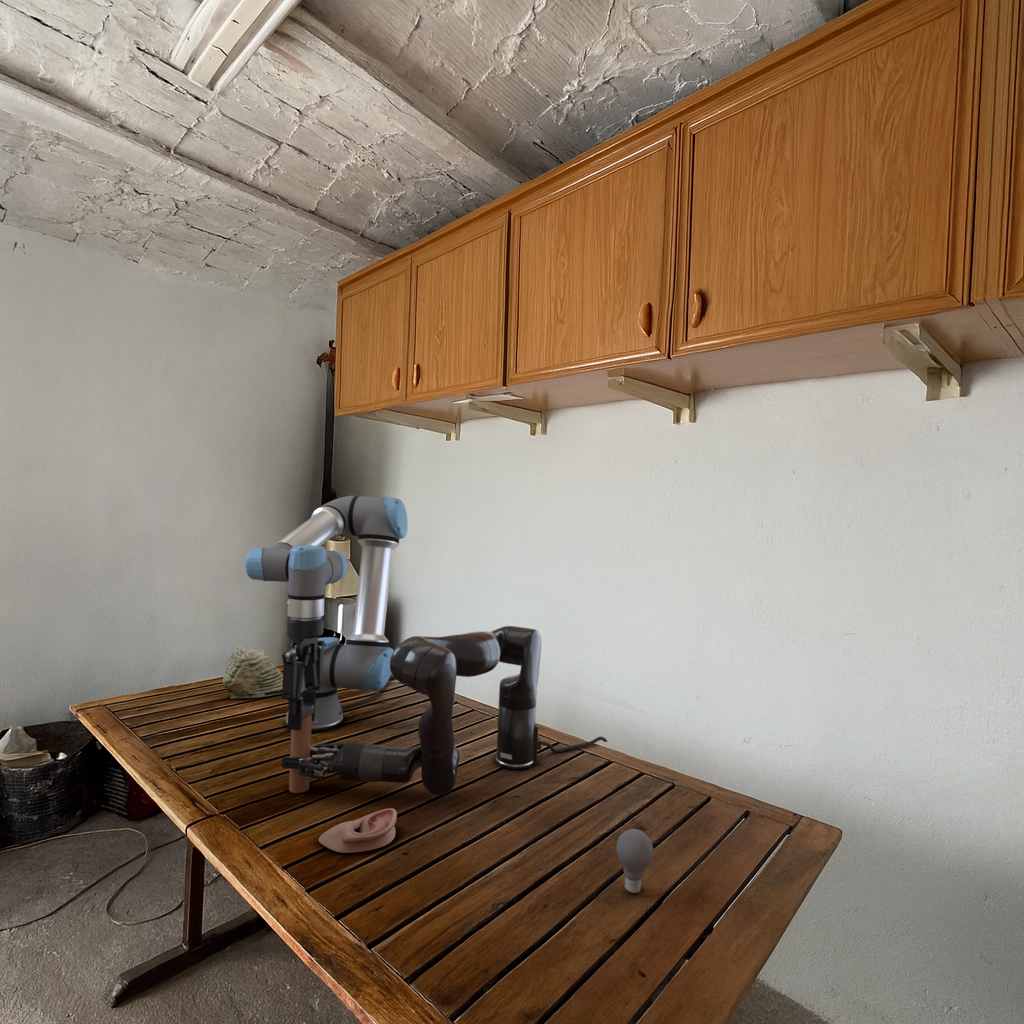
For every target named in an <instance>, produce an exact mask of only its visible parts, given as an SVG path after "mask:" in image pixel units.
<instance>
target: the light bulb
mask: <svg viewBox="0 0 1024 1024" xmlns="http://www.w3.org/2000/svg"><path fill="white" fill-rule="evenodd" d="M615 849H616V854H617V857H618V859H619V861H620V863H621V865H622V867H623V873H624V874H623V875H624V876H625V878H624V888H625V890H627V891H628V892H630V893H634V894H635V893H639V892H640V891H641V889H642V887H641V886H642V879H643V877H644V875H645V871H646V868H647V867H648V866H649V864H650V863H651V861H652V859H653V855H654V847H653V843H652V841H651V838H649V836H648V835H647V834H646V833H645V832H643V831H642V830H641V829H636V828H629V829H627V830H625V831H623V832H622V833H621V834H620V835H619V837H618V839H617V841H616V847H615Z"/></svg>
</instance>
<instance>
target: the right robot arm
mask: <svg viewBox="0 0 1024 1024" xmlns="http://www.w3.org/2000/svg"><path fill="white" fill-rule="evenodd" d="M393 651H394V652H393V654H392V656H391V659H390V670H391V676H394V677H395V678H394V679H395V680H397V681H398V682H399V683H400V684H401V685H404V686H405V687H408V688H409V689H412V690H414V691H416V692H418V693H419V694H422V695H425V696H426V697H428V700H429V702H430V705H429V706H428V707H427V708H426V709H425V710H424V711H423V713H422V714H421V716H420V718H419V721H418V725H417V734H418V739H419V744H418V745H413V746H410V747H397V746H385V745H381V744H368V743H353V742H348V743H345V745H344V742H343V743H342V742H335V743H318V744H317V743H316V744H315V746H311V757H308V758H300V757H290V756H284V757H283V758H282V760H281V768H283V769H289V770H290V769H299V775H302V776H306V777H310V779H315V780H324V779H325V775H326V774H333V773H334V774H335V773H336V774H338V775H339V778H340V780H342V781H345V782H346V781H347V782H362V783H397V784H407V783H409V782H410V781H411V780H412V779H413V777H414V775H415V773H416V771H417V770H418V769H419V768H421V769H420V771H421V773H420V775H421V781H422V782H421V783H422V785H423V787H424V788H425V789H426V791H427V792H429V793H430V794H432V795H434V796H444V795H447V794H449V793H450V792H451V791H452V790H453V789H454V787H455V785H456V781H457V775H458V769H459V764H460V763H459V762H460V752H459V749H458V748H457V747H456V746H455V734H454V725H453V712H454V704H455V695H456V686H457V685H456V684H457V677H463V678H470V677H471V678H472V677H477V676H481V675H485V674H487V673H489V672H492V671H493V670H494V669H495V668H496V667H497V666H498V664H499V663H502V664H506V665H507V664H508V665H514V666H520V671H519V673H518V674H514V675H509V676H506V677H504V678H501V680H500V682H499V690H498V711H497V712H498V713H497V731H496V735H497V736H496V752H495V753H496V754H495V763H496V764H497V765H498V766H500V767H502V768H504V769H509V770H510V769H511V770H524V769H529V768H531V767H532V766H534V765H535V766H536V765H537V763H538V751H541V750H542V746H546V747H548V748H549V749H550V751H551V752H553V753H558V754H559V753H560V754H561V753H565V752H568V751H572V750H575V749H580V748H584V747H588V746H592V745H594V744H596V743H597V742H599V741H603V742H604V743H607V742H608V740H607V738H606V737H604V736H598V737H596V738H594V739H592V740H590V741H587V742H583V743H578V744H572V745H569V746H566V747H562V748H555V747H554V746H553V745H552V744H551V743H550V742H547V741H543V740H541V739H540V738H539V725H538V724H537V723H536V716H537V715H536V713H537V693H538V685H539V678H540V663H541V655H542V636H541V634H540V632H539V630H538V629H536V628H530V627H523V626H515V625H506V626H505V625H504V626H501V627H499V628H496V629H494V630H491V631H486V630H484V631H483V630H481V631H472V632H466V633H461V634H459V633H458V634H452V635H445V636H425V635H413V636H410V637H408V638H406V639H404V640H402V641H401V642H400V643H399V644H398V645H397V646H396V647H395V649H393ZM309 762H310V763H309ZM307 771H308V772H307Z"/></svg>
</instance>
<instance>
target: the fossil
mask: <svg viewBox="0 0 1024 1024" xmlns="http://www.w3.org/2000/svg"><path fill="white" fill-rule="evenodd" d="M222 676H223V677H222V685H223V687H224V688H225V690H226V691H228V693H229V698H230V699H250V698H264V697H271V696H275V695H281V694H282V685H283V672H281V669H279V668H278V667H277V665H276V663H275V662H274V660H273V659H272V658H271V657H270V656H269V655H268V654H267V653H266V652H265V650H264V649H263V648H260V647H258V648H251V647H247V646H246V647H245V646H238V647H237V648H236V649H235V650H233V651H232V653H231V656H230V657H229V659H228V660H227V663H226V666H225V668H224V671H223V675H222Z"/></svg>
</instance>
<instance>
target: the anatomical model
mask: <svg viewBox="0 0 1024 1024" xmlns="http://www.w3.org/2000/svg"><path fill="white" fill-rule="evenodd" d="M397 816H398V813H397V810H396V809H395V808H392V807H390V808H384V809H380V810H377V811H374V812H371V813H369V814H366V815H364V816H362V817H360V818H357V819H354V820H348V821H343V822H341V823H339V824H335V825H334V826H332V827H330V828H328V830H326V831H324V832H323V833H322V834H321V835H320V836H319V837H318V842H319V843H320V844H321V845H322V846H324V847H325V848H327V849H329V850H332V851H333V852H336V853H339V854H351V853H361V852H367V851H372V850H376V849H380V848H382V847H385V846H387V845H389V844H390V843H392V842H393V840H394V839H395V837H396V833H397V832H396V827H395V825H396V823H397V818H398V817H397Z"/></svg>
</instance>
